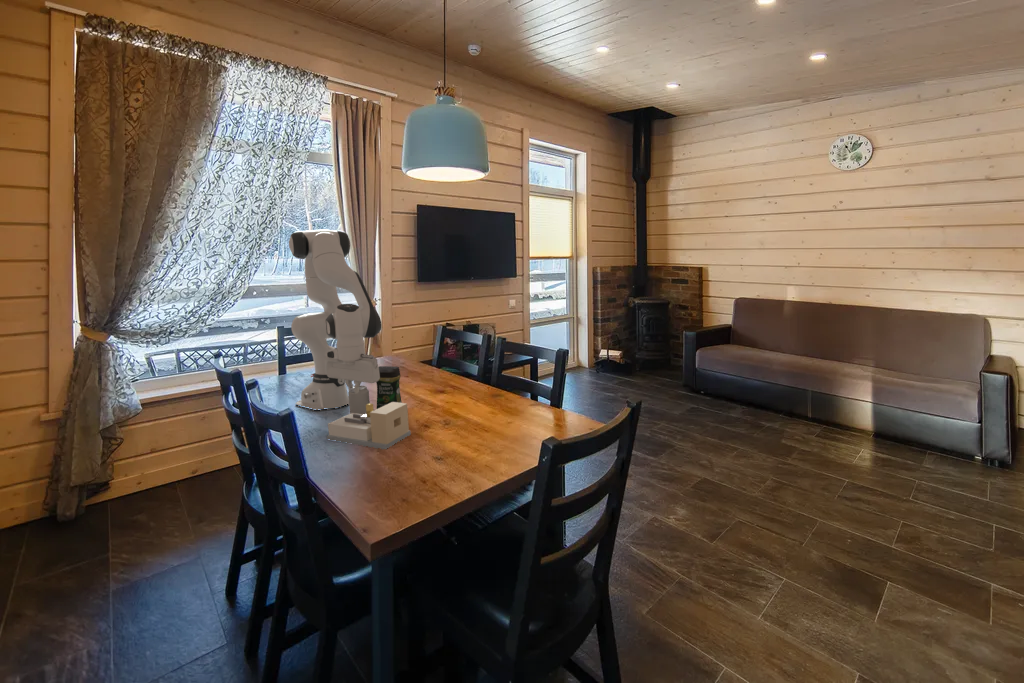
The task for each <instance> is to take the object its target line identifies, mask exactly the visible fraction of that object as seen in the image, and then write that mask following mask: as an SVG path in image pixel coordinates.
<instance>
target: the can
mask: <svg viewBox="0 0 1024 683" xmlns="http://www.w3.org/2000/svg"><path fill="white" fill-rule="evenodd" d="M347 393H348V396H349V404H348V407H349V408H348V409H349V414H351V413H357V414H366V404H370V402H371V400H370V391H369V389H368V388H367V386H366V385H360V386H359V392H358V393H350V392H349V391H347Z"/></svg>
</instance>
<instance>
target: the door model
mask: <svg viewBox="0 0 1024 683" xmlns="http://www.w3.org/2000/svg"><path fill="white" fill-rule="evenodd" d="M408 410H409V409H408V403H404V402H402V403H398V402H391V403H389V404H387V405H385V406H383V407H380V408H378V409H377V408H376V409H374V411H372V412H370V419H371V423H365V420H360V416H362V415H364V414H357V413H351V414H350V413H348V414H346V415H345V416H341V417H340V418H338V419H337V418H336V420H333V421H331V422H329V423H327V427H328V428H327V429H328V435H326V440H327V439H330V440H336V441H341V442H340V443H342V442H347V443H346V444H348V443H352V444H351V445H354V444H358V445H357V446H360V445H363V446H362V447H366V446H368V447H367V448H372V447H374V449H378V448H381V449H380V450H384V449H386V450H388V449H390V448H391V447H393V446H394V444H395V443H396V444H397V442H398V441H399V442H401V441H403V440H404V439H406V438H408V437H409V436H411V433H412V432H411V430H410V428H409V414H408ZM407 436H408V437H407ZM405 437H406V438H405ZM402 439H403V440H402ZM330 440H329V441H330ZM400 440H401V441H400ZM336 441H335V442H336ZM399 442H398V443H399ZM396 444H395V445H396ZM392 445H393V446H392ZM390 446H391V447H390ZM389 447H390V448H389ZM387 448H388V449H387Z"/></svg>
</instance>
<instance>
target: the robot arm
mask: <svg viewBox="0 0 1024 683" xmlns="http://www.w3.org/2000/svg"><path fill="white" fill-rule="evenodd" d="M288 246H289V247H288V248H289V251H290V252H291V254H292V256H294V258H296V259H299V260H305V261H304V278H305V284H306V293H307V294H306V295H307V297H308V299H309V300H310V301H311V302H314V303H316V304H318V305H321V306H322V308H323V310H324V311H322V312H321V311H319V312H308V313H304V314H301V315H297V316H295V317H294V318H293V319H292V323H291V333H292V335H293V336H294V337H295V338H296V339H297V340H299V341H300V342H302V343H303V344H305V346H307V348H308V350H309V351H310V353H311V354H312V359H313V365H314V373H310V378H312V381H311V382H309V384H308V385H307V386H306V387H304V388H302V391H301V394H300V396H301V397H300V400H298V401H297V402H295V405H296V404H297V405H301V406H305V407H309V408H312V409H316V410H318V409H324V408H335V407H340V408H342V407H341V406H344V405H346V406H348V405H349V396H348V392H350V393H358V392H359V386H361V385H362V383H368V384H376V382H377V381H379V379H380V373H379V368H378V367H379V365H378V359H377V358H376V356H374V355H373V354H366V351H365V350H366V348H365V347H366V346H365V341H364V339H365V338H369V339H372V338H375V337H376V336H377V335H378V334H379V333H380V332H381V330H382V321H381V317H380V315H379V313H378V311H377V310H376V308H375V306H374V304H373V302H372V300H371V297H370V296H369V293H368V291H367V288H366V286H365V284H364V282H363V280H362V278H361V276H360V274H359V273H358V272H357V271H355V270H353V269H352V267H350V266H349V265H348V262H347V261H346V258H345V257H347V255H349V254H350V250H351V246H352V244H351V240H350V238H349V234H348V233H347V232H345V231H343V230H340V229H339V230H338V229H336V230H333V229H331V230H330V229H314V230H313V229H311V230H303V231H302V230H296V231H294V232H292V233H291V234H290V237H289V240H288ZM337 288H341V289H343V290H345V291H348V292H350V293H351V294H352V295H353V296H354V298H355V301H356V303H357V304H354V303H342V302H341V300H340V297H339V294H338V290H337ZM328 339H333V340H337V341H336V347H334V346H331V345H328V341H327V340H328ZM347 404H348V405H347ZM344 407H345V406H344ZM335 409H336V408H335Z"/></svg>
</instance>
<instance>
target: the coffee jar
mask: <svg viewBox="0 0 1024 683" xmlns="http://www.w3.org/2000/svg"><path fill="white" fill-rule="evenodd" d="M378 368H379V373H380V379H379V381H377V382H375V384H376V409H378V408H380V407H383V406H385V405H387V404H389V403H391V402H398V403H403V402H402V397H401V388H400V379H401V370H400V367H399V366H394V365H393V366H390V365H386V366H385V365H378Z"/></svg>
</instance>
